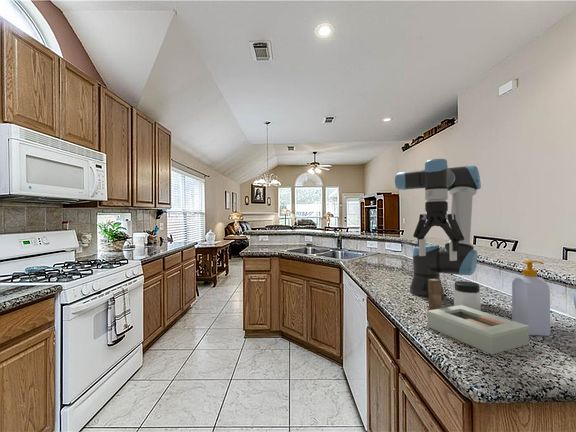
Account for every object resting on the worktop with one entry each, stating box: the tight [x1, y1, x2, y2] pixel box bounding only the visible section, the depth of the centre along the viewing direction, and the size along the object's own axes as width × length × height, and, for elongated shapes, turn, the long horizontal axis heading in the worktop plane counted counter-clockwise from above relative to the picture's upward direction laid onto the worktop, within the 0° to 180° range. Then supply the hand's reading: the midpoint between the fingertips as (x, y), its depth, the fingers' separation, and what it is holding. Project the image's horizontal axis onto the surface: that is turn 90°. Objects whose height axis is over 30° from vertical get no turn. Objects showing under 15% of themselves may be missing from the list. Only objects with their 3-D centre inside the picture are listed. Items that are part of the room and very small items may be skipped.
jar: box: [453, 280, 482, 311], centre depth 113 cm, size 9×8×12 cm
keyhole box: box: [426, 305, 530, 355], centre depth 95 cm, size 22×16×6 cm
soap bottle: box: [511, 260, 551, 337], centre depth 97 cm, size 9×7×23 cm
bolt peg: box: [427, 279, 442, 311], centre depth 111 cm, size 5×5×14 cm
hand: (437, 258), depth 111 cm, fingers open, 13 cm apart
